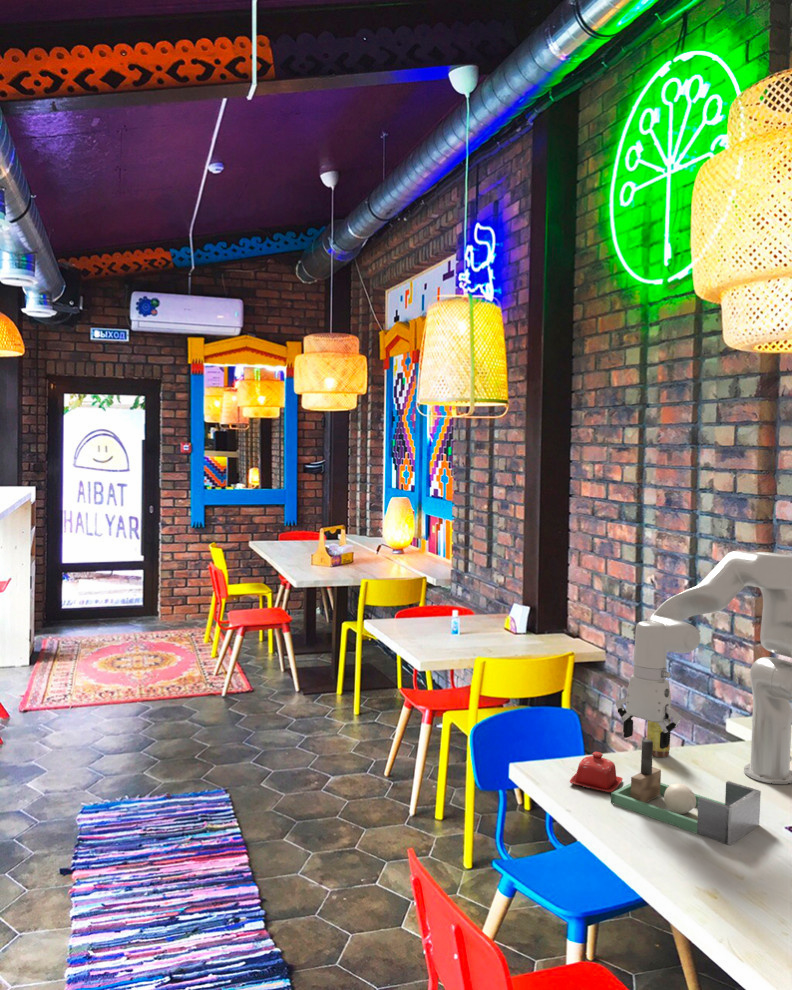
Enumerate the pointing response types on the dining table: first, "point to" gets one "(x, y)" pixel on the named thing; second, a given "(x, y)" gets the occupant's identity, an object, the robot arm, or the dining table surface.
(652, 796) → the striker
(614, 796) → the frame
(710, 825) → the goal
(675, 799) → the cream round ball
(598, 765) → the butter dish
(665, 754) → the sauce bottle
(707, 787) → the dining table surface
